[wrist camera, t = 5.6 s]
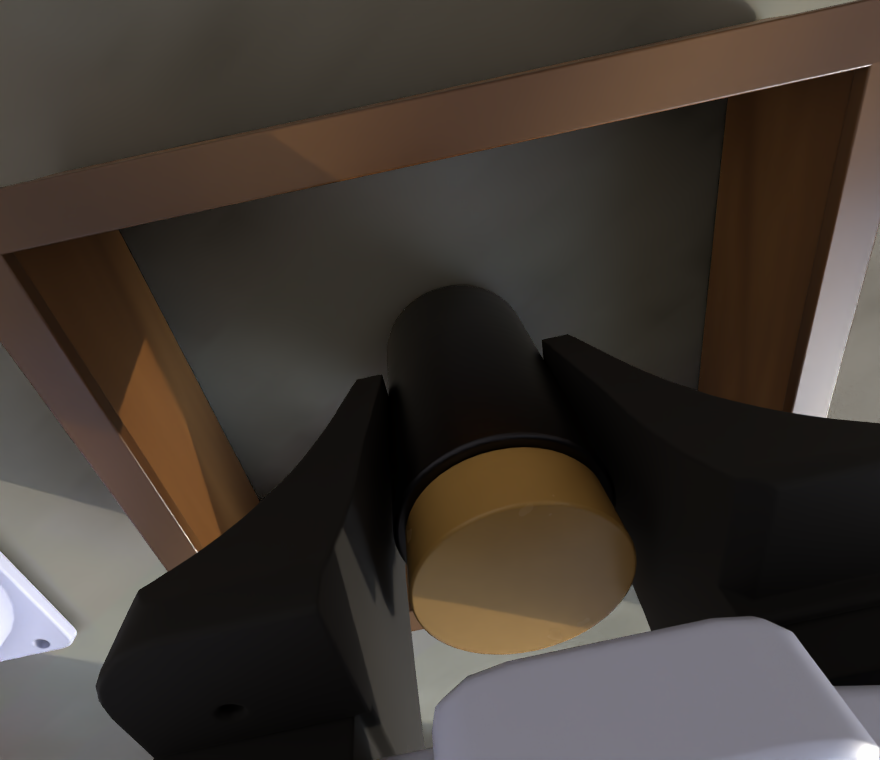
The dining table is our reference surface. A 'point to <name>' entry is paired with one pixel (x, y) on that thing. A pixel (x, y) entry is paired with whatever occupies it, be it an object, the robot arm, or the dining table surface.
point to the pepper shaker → (495, 483)
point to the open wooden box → (434, 138)
